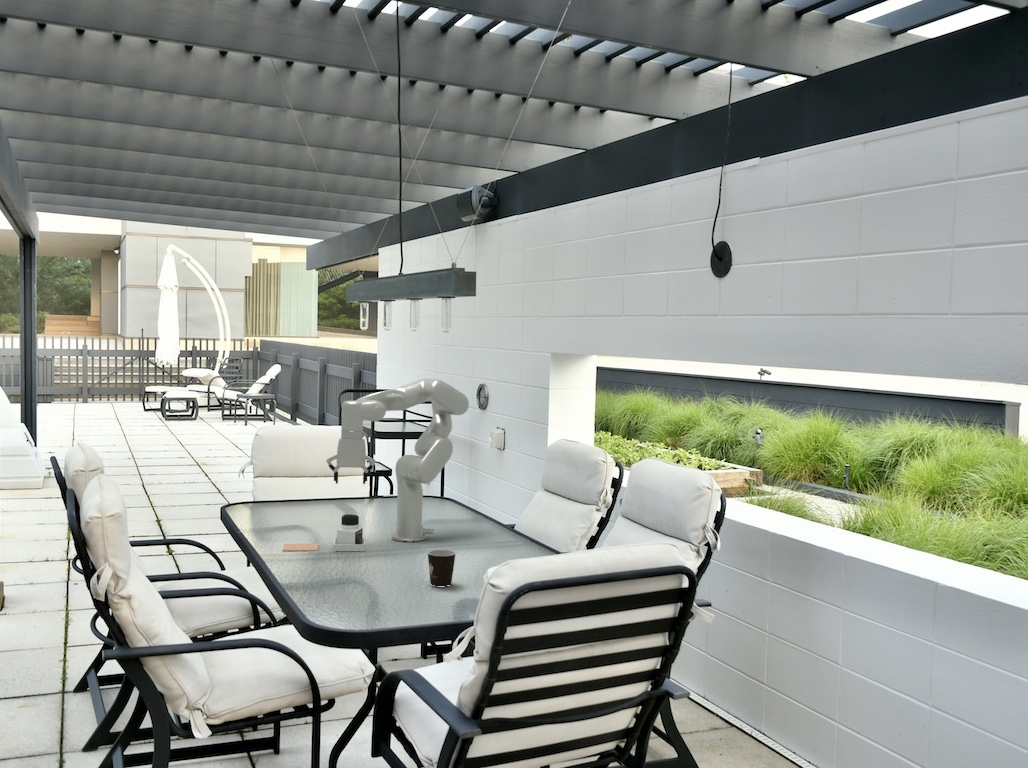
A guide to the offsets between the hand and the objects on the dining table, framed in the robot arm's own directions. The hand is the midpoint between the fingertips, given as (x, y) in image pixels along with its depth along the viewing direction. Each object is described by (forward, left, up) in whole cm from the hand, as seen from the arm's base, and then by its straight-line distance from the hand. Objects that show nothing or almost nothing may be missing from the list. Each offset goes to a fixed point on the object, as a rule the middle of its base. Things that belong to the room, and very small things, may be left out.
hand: (350, 483), depth 334 cm
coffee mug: (-28, +52, -24) cm, 64 cm away
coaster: (+17, 0, -23) cm, 29 cm away
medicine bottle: (0, 0, -24) cm, 24 cm away
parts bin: (0, 0, -23) cm, 23 cm away
